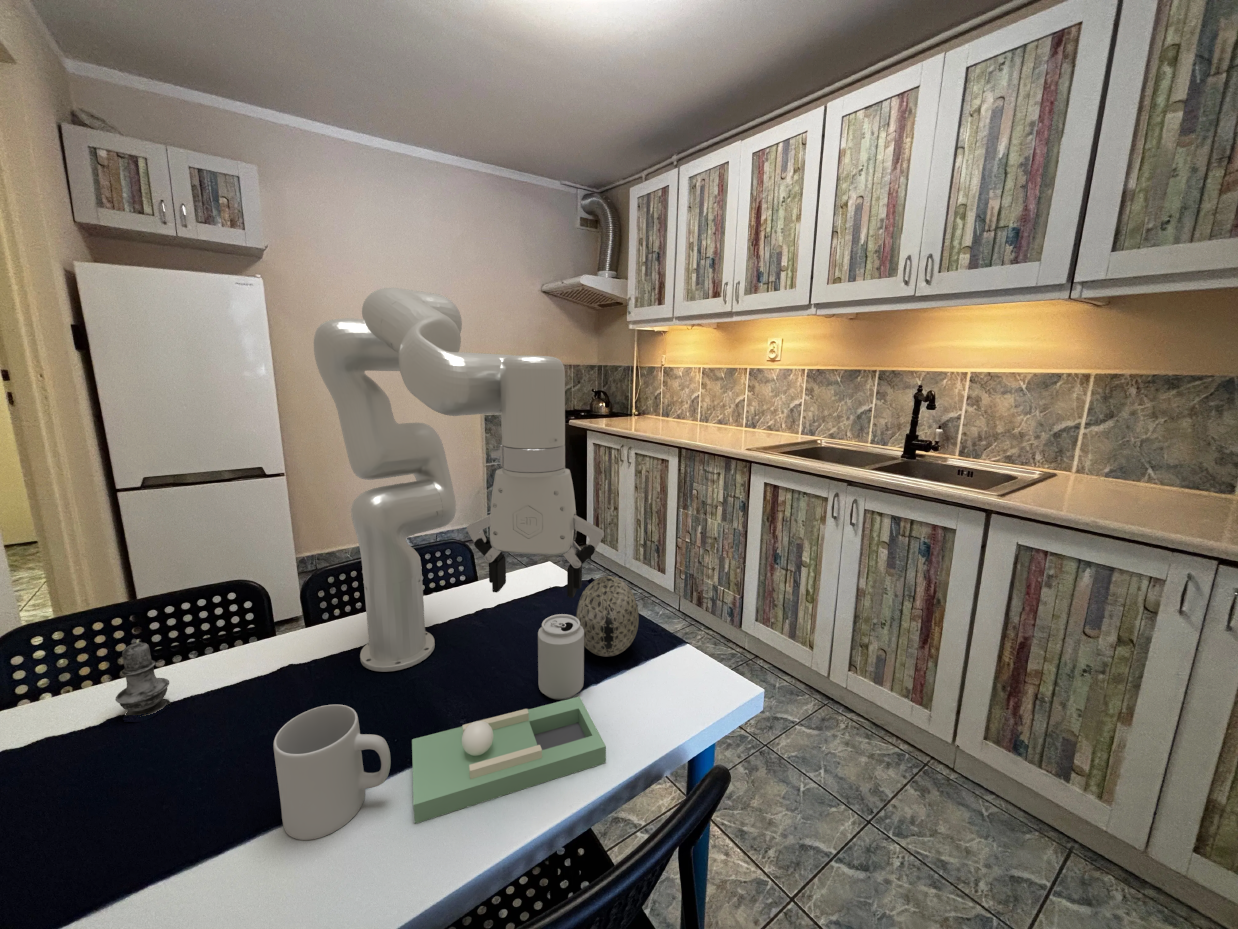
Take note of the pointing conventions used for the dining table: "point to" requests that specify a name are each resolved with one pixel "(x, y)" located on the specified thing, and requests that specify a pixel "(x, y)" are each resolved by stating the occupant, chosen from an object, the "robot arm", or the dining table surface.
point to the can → (560, 656)
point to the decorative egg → (608, 616)
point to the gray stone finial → (141, 682)
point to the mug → (324, 770)
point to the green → (503, 757)
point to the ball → (477, 738)
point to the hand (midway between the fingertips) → (535, 590)
